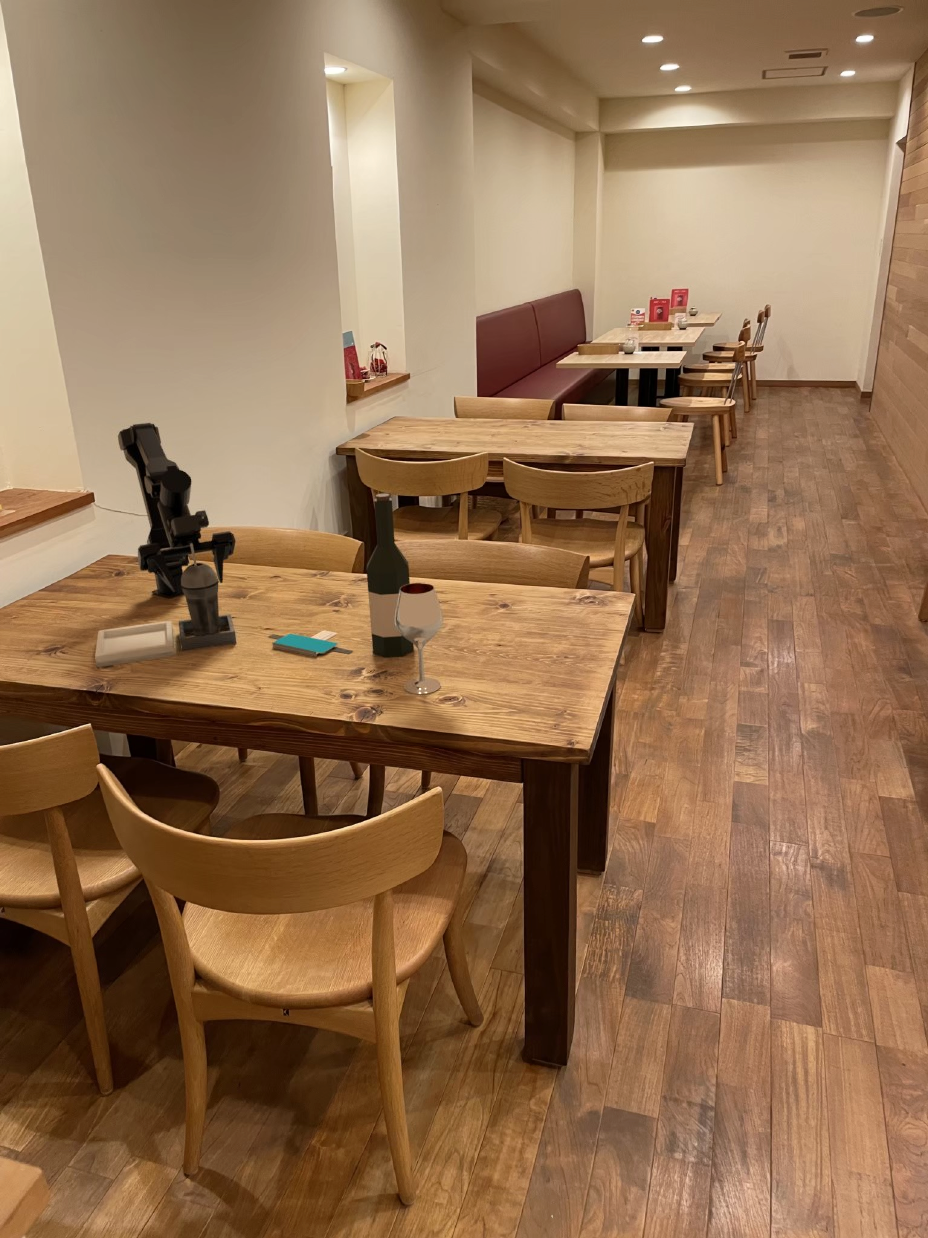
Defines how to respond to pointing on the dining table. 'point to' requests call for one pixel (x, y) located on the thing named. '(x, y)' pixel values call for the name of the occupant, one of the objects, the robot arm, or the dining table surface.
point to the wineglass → (419, 627)
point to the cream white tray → (134, 643)
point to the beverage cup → (201, 596)
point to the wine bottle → (386, 584)
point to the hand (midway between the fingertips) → (198, 586)
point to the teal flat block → (308, 643)
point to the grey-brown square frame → (207, 635)
